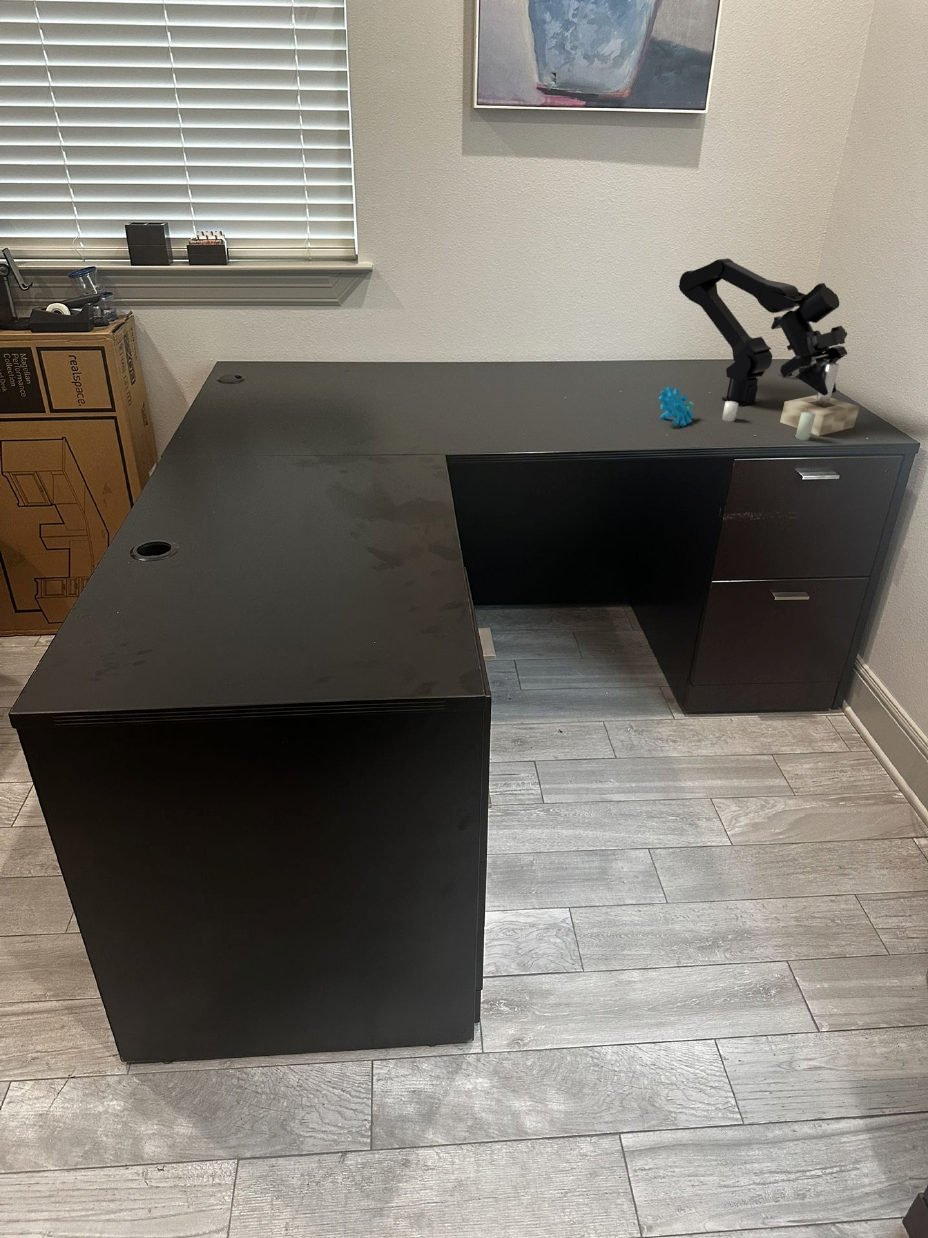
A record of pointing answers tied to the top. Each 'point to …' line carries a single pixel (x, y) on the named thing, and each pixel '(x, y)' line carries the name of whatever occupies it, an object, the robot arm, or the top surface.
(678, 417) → the blue spiky toy
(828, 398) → the long pin
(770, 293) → the robot arm
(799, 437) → the mid pin
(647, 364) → the top surface
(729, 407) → the short pin
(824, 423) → the hole block
